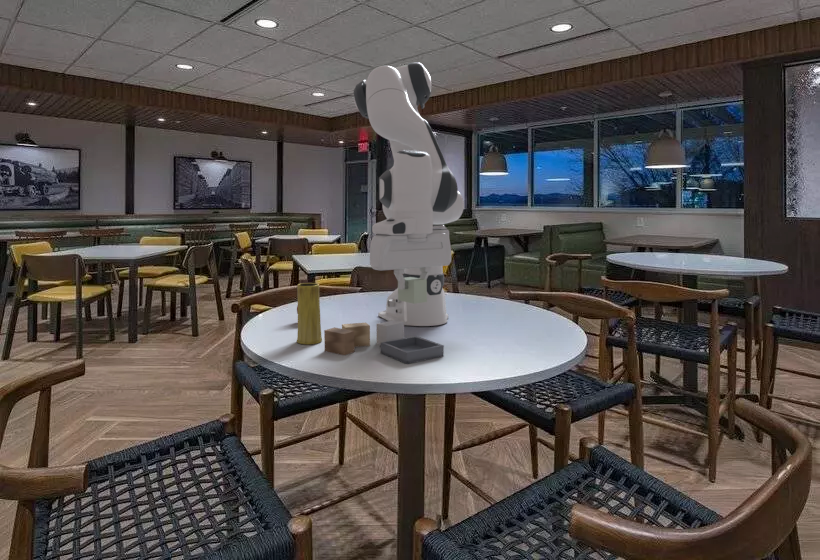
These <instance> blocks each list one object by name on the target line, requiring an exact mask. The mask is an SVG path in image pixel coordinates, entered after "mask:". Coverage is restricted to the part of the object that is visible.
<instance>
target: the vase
mask: <svg viewBox="0 0 820 560" xmlns="http://www.w3.org/2000/svg"><path fill="white" fill-rule="evenodd" d="M296 289H297V290H296V291H297V294H296V295H297V306H298V314H297V338H296V342H297V343H298V344H300V345H304V346H305V345H316V344H319V343H321V342H322V341H323V339H322V327H321V324H322V323H321V305H320V303H321V302H320V284H319V283H316V282H302V283H298V284H297V286H296Z"/></svg>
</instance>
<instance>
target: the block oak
mask: <svg viewBox="0 0 820 560" xmlns="http://www.w3.org/2000/svg"><path fill="white" fill-rule="evenodd" d="M341 329H346V330H351V331H354V348H357V347H367V346H368V347H370V346H371V325H370V324H369V323H367V322H355V323H352V322H351V323H342V324H341Z"/></svg>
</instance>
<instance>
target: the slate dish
mask: <svg viewBox="0 0 820 560" xmlns="http://www.w3.org/2000/svg"><path fill="white" fill-rule="evenodd" d="M379 346H380V348H379V349H380V354H383V355H385V356H387V357H389V358H392V359H394V360H396V361H399V362H401V363H404V364H406V365H409V364H413V363H418V362H423V361H428V360H432V359H437V358H441V357H444V351H445V350H444V347H445V345H444V344H441V343H438V342H435V341H432V340H430V339H427V338H426V339H425V338H423V337H420V336H417V335H414V336H409V337H404V338H402V339H397V340H391V341H385V342H380V344H379Z"/></svg>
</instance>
